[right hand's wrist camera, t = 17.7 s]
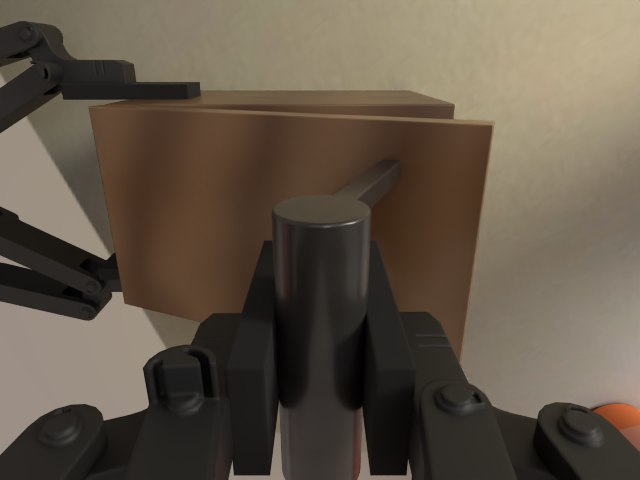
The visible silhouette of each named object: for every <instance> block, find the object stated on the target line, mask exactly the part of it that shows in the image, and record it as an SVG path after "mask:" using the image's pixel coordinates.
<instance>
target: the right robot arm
mask: <svg viewBox="0 0 640 480" xmlns="http://www.w3.org/2000/svg"><path fill="white" fill-rule="evenodd" d="M143 371H144V377H145V383H146V388H147V394H148V400H149V406H148V408H147V409H145V410H143V411H141V412H137V413H134V414H131V415H127V416H123V417H119V418H114V419H110V420H105V421H104V420H103V416H102V413H101V412H100V411H99V410H98V409H97V408H96V407H93V406H90V405H86V404H78V405H69V406H65V407H61V408H58V409H55V410H53V411H51V412H49V413H47V414H45V415H43V416H41V417H40V418H38V419H37V420H36V421H35V422H33V423H32V424H31V425H30V426H28V427H27V428H26V429H25V430H24V431H23V432H22V433H21V434H20V436H19V437H18V438H17V439H16V440H15V441H14V442H13V443H12V444H11V445H10V446H9V447H8V448H7V449H6V450H5V451H4V452H3V453H2V454H1V455H0V480H228V478H229V473H230V469H231V464H232V460H233V469H234V475H270V471H271V463H272V455H273V446H274V438H275V430H276V421H277V413H278V405H279V381H278V358H277V334H276V310H275V286H274V263H273V240H264V242H263V246H262V249H261V252H260V255H259V258H258V262H257V265H256V268H255V271H254V274H253V278H252V281H251V284H250V287H249V290H248V294H247V297H246V300H245V303H244V306H243V310H242V313H213V314H211V315H210V316H209V317H208V318H207V319H205V320H204V321H203V322H202V323H201V324H200V326H199V328H198V330H197V332H196V334H195V338H194V339H193V341H192V343H191V345H181V346H175V347H171V348H169V349H166V350H164V351H161V352H159V353H157V354H156V355H155V356H153V357H152V358H150V359H149V360H148V362H147V363H146V365H145V366H144V367H143ZM362 409H363V417H364V426H365V434H366V442H367V450H368V459H369V467H370V475H406V474H407V464H408V460H409V464H410V469H411V473H412V480H640V452H639V451H638V450H637V449H636V448H635V447H634V446H633V445H632V444H631V442H630V441H629V440H628V439H627V438H626V437H625V436H624V435H623V434H622V433H621V432H620V431H619V430H618V429H617V428H616V427H615V426H614V425H613V424H611V423H610V422H609V421H608V420H606V419H605V418H604V417H603V416H601V415H600V414H598V413H596V412H594V411H592V410H590V409H588V408H586V407H583V406H579V405H575V404H572V403H559V402H555V403H552V404H549V405H545V406H544V407H543V408H542V409H541V410H540V411H539V414H538V418H537V419H534V418H530V417H526V416H521V415H517V414H513V413H509V412H506V411H503V410H499V409H497V408H495V407H493V406H492V405H491V403H490V401H489V400H488V398H487V396H486V395H485V394H484V393H483V392H482V391H481V390H479V389H478V388H477V387H476V386H474V385H471V384H469V383H468V381H467V379H466V377H465V375H464V373H463V370H462V368H461V366H460V364H459V362H458V360H457V357H456V355H455V353H454V351H453V349H452V347H451V344H450V342H449V340H448V338H447V337H446V334H445V331H444V329H443V327H442V325H441V323H440V322H439V321H438V320H437V319H436V318H435V317H433V316H432V315H431V314H430V313H429V312H399V311H398V308H397V305H396V302H395V298H394V295H393V292H392V289H391V286H390V282H389V279H388V276H387V273H386V270H385V266H384V263H383V260H382V257H381V254H380V251H379V247H378V244H377V241H376V240H370V262H369V285H368V307H367V312H366V330H365V353H364V376H363V399H362Z"/></svg>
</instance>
